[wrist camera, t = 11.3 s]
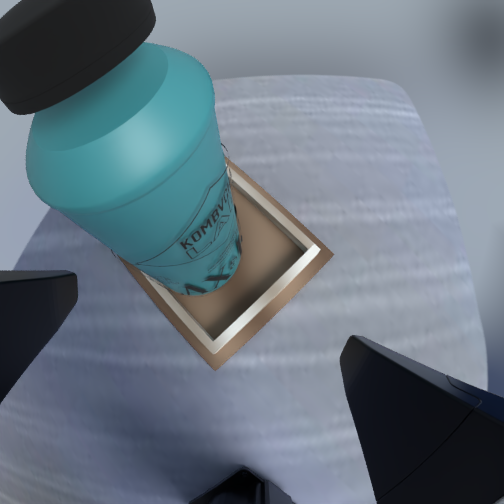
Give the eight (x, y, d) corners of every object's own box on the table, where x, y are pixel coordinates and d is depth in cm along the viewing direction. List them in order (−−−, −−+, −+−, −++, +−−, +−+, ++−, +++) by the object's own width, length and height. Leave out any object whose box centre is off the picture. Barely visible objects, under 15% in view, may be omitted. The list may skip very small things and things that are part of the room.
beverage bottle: (150, 291, 21) (-102, 134, 2) (173, 209, 23) (40, -28, 4) (235, 310, 21) (41, 68, 2) (254, 222, 23) (234, -80, 3)
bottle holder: (216, 370, 20) (212, 372, 18) (117, 253, 23) (108, 248, 21) (333, 255, 22) (338, 249, 21) (225, 158, 25) (223, 147, 23)
